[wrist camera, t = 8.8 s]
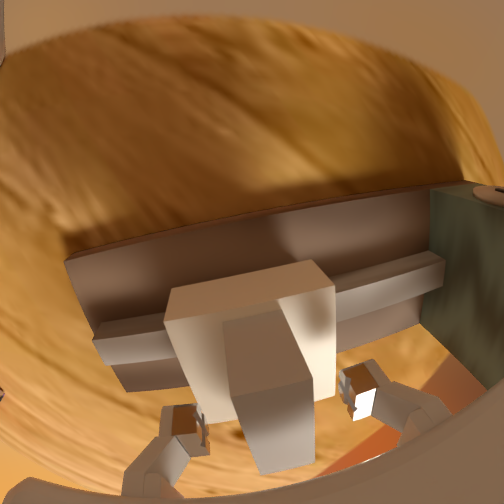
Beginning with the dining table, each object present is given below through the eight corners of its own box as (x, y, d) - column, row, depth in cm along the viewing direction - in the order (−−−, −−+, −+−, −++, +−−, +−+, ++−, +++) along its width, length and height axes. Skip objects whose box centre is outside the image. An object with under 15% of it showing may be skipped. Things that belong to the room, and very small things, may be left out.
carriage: (175, 273, 15) (147, 395, 7) (300, 247, 16) (384, 341, 7) (206, 367, 18) (212, 485, 9) (309, 345, 18) (362, 450, 10)
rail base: (70, 245, 16) (-49, 356, 4) (464, 173, 18) (582, 207, 7) (130, 379, 20) (103, 509, 8) (455, 295, 22) (538, 361, 11)
